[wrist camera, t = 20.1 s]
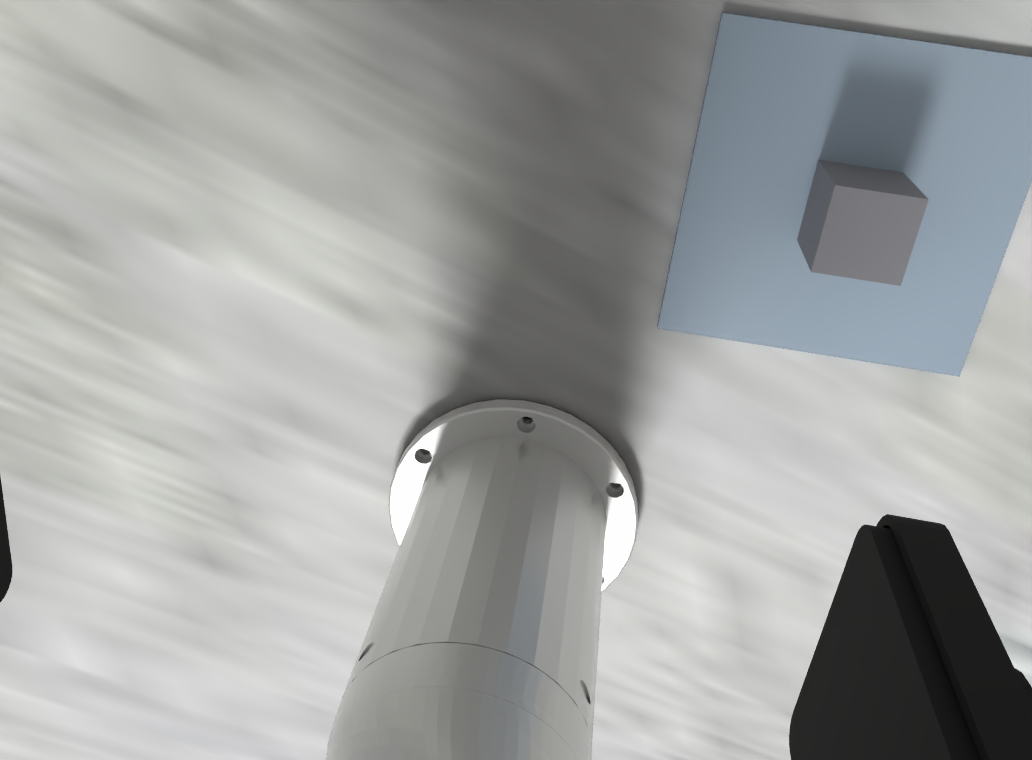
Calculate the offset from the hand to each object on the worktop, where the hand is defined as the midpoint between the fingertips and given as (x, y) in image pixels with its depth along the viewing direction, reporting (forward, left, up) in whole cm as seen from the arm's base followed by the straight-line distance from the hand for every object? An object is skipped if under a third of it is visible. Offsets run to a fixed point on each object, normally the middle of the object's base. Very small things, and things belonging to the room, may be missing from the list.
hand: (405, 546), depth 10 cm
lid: (-4, -12, -34) cm, 36 cm away
